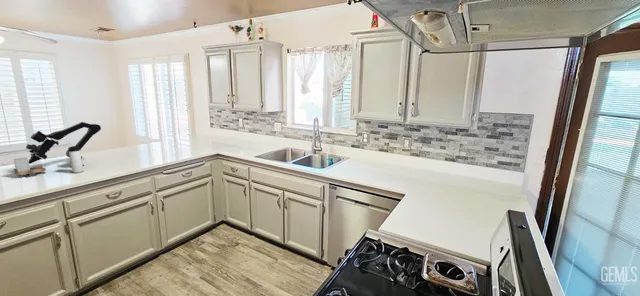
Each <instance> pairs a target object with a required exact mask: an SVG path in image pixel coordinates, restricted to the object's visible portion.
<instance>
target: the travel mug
mask: <svg viewBox="0 0 640 296" xmlns="http://www.w3.org/2000/svg"><path fill="white" fill-rule="evenodd" d="M67 150H69V156H70V157H69V160H70V167H71V166H72V167H71V170H72V174H82V173H83V172H84V167H83V165H84V164H83V160H81V156H82V155H81V150H80V149H79V146H75V145H74V146H73V145H72V146H70V147H68V148H67ZM82 164H83V165H82Z"/></svg>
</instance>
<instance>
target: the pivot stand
mask: <svg viewBox="0 0 640 296" xmlns="http://www.w3.org/2000/svg"><path fill="white" fill-rule="evenodd" d="M39 173H40V174H41V175H42V174H46V173H47V171H41V172H39ZM16 176H17V178H19V179H22V178H23V176H25V177H26V178H31V177H32V178H33V177H37V176H38V175H37V174H36V172H35V173H29V174H22V175H17V174H16Z"/></svg>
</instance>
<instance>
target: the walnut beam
mask: <svg viewBox="0 0 640 296" xmlns="http://www.w3.org/2000/svg"><path fill="white" fill-rule="evenodd" d="M13 170H14V174H15V175H16V176H17V175H22V176H23V174H29V173H35V174H36V173H40V172H42V171H44V172H47V171H46V170H47V169H46V167H43V166H37V167H35V166H33V167H30V170H28V171H21V172H18V170H16V169H15V168H13Z"/></svg>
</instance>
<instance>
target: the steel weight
mask: <svg viewBox="0 0 640 296" xmlns="http://www.w3.org/2000/svg"><path fill="white" fill-rule="evenodd" d="M28 161H29V158H27V157H19V158H13V162H14V169H16V170H18V172H21V171H28V170H30V168H31V167H30V164H29V162H28Z"/></svg>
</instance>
